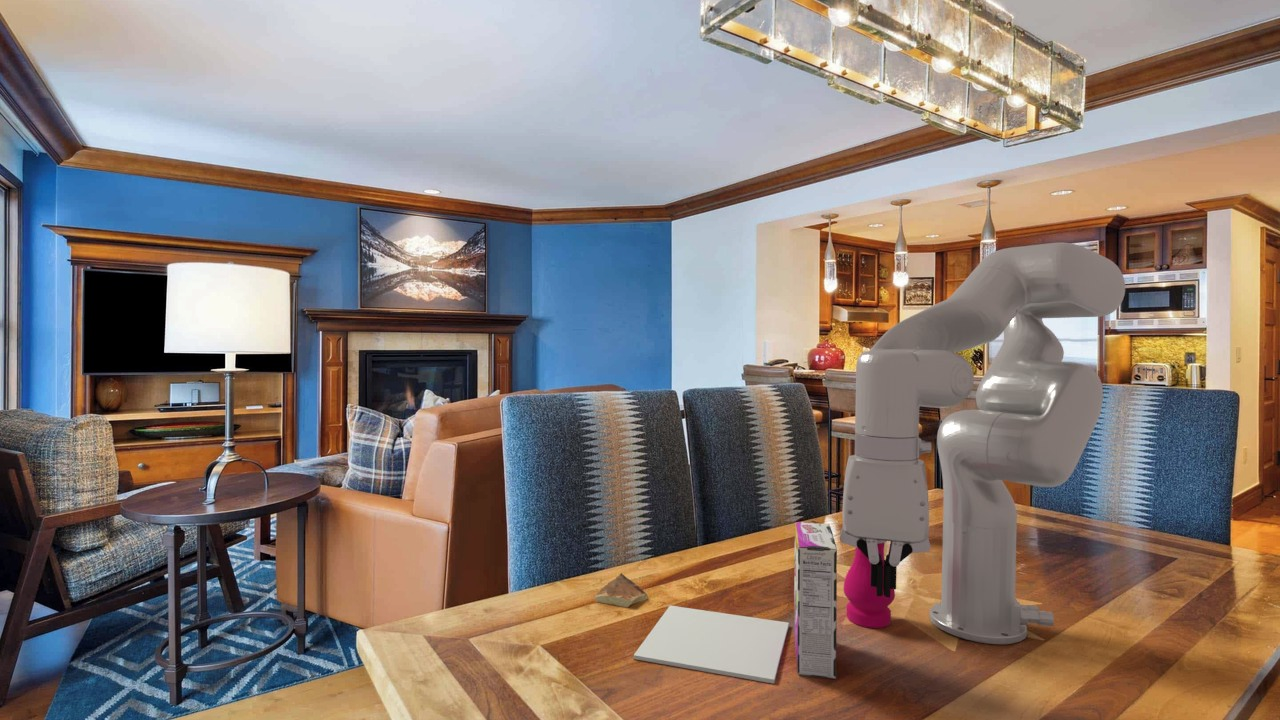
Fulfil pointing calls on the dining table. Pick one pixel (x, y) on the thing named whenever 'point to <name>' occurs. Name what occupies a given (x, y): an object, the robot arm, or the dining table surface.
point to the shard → (621, 592)
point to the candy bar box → (815, 600)
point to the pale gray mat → (716, 643)
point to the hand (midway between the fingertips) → (882, 592)
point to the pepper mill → (866, 593)
